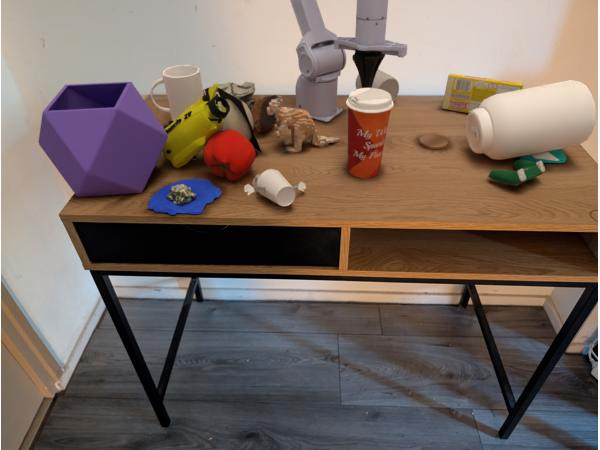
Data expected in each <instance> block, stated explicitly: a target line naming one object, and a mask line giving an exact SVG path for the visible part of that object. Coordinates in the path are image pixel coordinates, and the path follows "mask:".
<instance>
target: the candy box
mask: <svg viewBox="0 0 600 450" xmlns="http://www.w3.org/2000/svg"><path fill="white" fill-rule="evenodd" d="M523 87H524V83H523V82H517V81H516V82H515V81H509V80H502V79H501V80H500V79H494V78H486V77H479V76H471V75H464V74H457V73H452V72H451V73H449V74H448V76H447V82H446V86H445V91H444V96H443V100H442V104H441V109H442V110H449V111H454V112H458V113H459V112H461V113H467V114H469V112H470V111H472V110H474V109H476V108H478V107H479V106H480V104H481V103H482V102H483V100H485V99H487V98H489V97H491V96H493V95H495V94H500V93H506V92H511V91H516V90H521V89H524V88H523Z"/></svg>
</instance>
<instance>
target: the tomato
mask: <svg viewBox="0 0 600 450" xmlns="http://www.w3.org/2000/svg"><path fill="white" fill-rule="evenodd" d="M256 155H257V153H256V149H255V148H254V147H253V145H252V143H251V142H249V141H248V140H247V139H246V138H245V137H244V136H243V135H242V134H241V133H239V132H237V131H234V130H226V131H218V132H217V133H215V134H214V135H213V136H212V137H211V138H210V140H209V141H208V142H207V144H206V146H205V147H204V152H203V159H204V162H205V164H206V165H208V169H209V170H210V172H211V173H212V174H213V175H215V176H216V177H221V178H223V177H226V178H227V180H228V181H230V182H232V181H235V180H239V179H240V178H242V177H243V176H244V175H246V174H247V173H248V172H249V170H250V169H251V168H252V165H253V164H254V161H255V159H256Z"/></svg>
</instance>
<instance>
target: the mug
mask: <svg viewBox="0 0 600 450" xmlns="http://www.w3.org/2000/svg"><path fill="white" fill-rule="evenodd" d="M161 74H162V77H160V78H158V79H156V80H155V81H154V82H153V84H152V85H151V87H150V92H149V93H150V95H149V96H150V99H151V102H152V104H153V105H154V106H155V108H157V109H158V110H159V111H161V112H163V113H166V114H170V117H171V121H172V120H173V121H175V120H176V119H177V118H178V117H179V116H180V115H181V114H182V113H183V112H184V111H185V110H186V109H187V108H188V107H190V106H191V105H193V104H194V103H195V102H196V101H198V100H199V99H200V98H201V97H202V96H203V95H204V94H203V90H204V88H203V83H202V82H203V81H202V77H201V71H200V68H199V67H198V66H196V65H192V64H179V65H173V66H169V67H166V68H165V69H163V71H162V73H161ZM161 84H164V88H165V93H166V98H167V103H168V106H169V107H163V106H162V105H160V104H158V103H157V102H156V100H155V99H154V90H155V88H156V87H157V86H159V85H161Z"/></svg>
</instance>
